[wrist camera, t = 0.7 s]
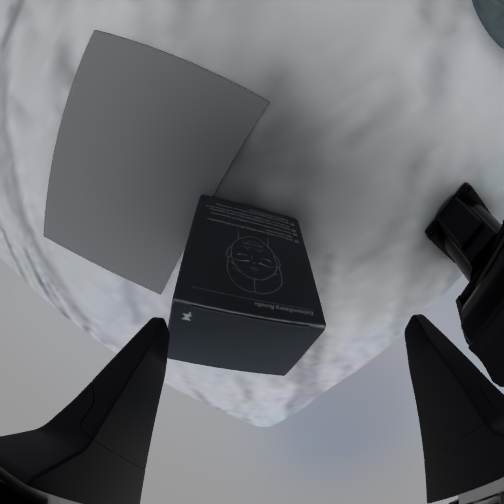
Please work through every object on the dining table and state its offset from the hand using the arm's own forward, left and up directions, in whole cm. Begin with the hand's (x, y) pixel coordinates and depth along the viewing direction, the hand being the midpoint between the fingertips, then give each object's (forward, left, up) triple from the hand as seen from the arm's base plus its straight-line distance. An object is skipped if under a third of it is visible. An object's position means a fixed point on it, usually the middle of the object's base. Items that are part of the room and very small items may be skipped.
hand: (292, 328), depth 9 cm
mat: (+10, +5, -13) cm, 18 cm away
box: (0, +5, -13) cm, 14 cm away
